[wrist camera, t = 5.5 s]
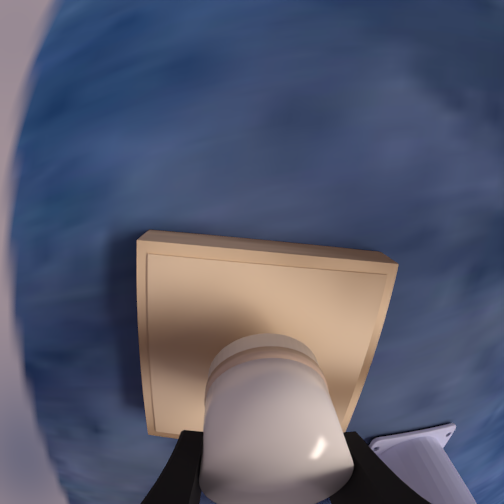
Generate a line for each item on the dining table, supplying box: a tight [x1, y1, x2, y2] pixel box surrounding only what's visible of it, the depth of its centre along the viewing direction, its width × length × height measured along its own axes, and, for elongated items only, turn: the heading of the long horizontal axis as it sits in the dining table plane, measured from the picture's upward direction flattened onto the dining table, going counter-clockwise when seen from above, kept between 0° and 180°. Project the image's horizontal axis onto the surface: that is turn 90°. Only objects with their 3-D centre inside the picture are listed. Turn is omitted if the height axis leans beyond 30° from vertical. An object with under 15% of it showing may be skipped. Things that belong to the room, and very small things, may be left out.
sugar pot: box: [199, 333, 354, 504], centre depth 10 cm, size 4×4×5 cm
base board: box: [137, 230, 399, 439], centre depth 15 cm, size 11×11×2 cm
